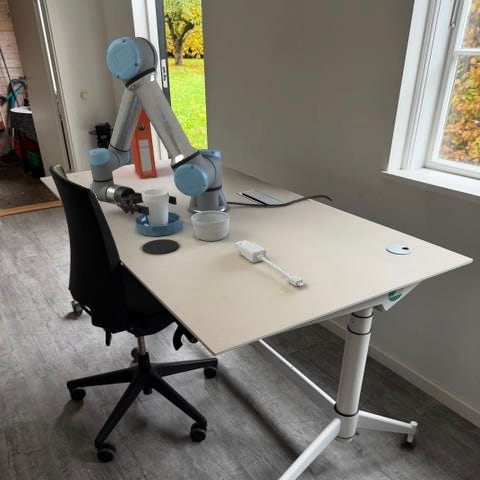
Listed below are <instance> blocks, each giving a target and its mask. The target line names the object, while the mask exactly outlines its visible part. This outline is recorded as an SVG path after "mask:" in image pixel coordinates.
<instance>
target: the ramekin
mask: <svg viewBox="0 0 480 480" xmlns="http://www.w3.org/2000/svg"><path fill="white" fill-rule="evenodd" d="M190 222H191V224H192V230H193V234H194V236H195V237H196V238H197V239H199V240H200V241H204V242H215V241H216V242H217V241H220V240H223V239H224V238H226V237H227V235H228V233H229V224H230V214H228V213H227V212H225V211H224V212H220V211H203V212H199V213H196V214H195V213H193V214H192V216H191V217H190Z"/></svg>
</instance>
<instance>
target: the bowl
mask: <svg viewBox="0 0 480 480" xmlns="http://www.w3.org/2000/svg"><path fill="white" fill-rule="evenodd" d="M134 223H135V229H136V231H137V233H138V234H141V235H143V236H151V237H158V236H159V237H160V236H168V235H171V234H174V233H176V232H178V231H180V230H181V229H182V217H181V215H180V214H179V213H176V212H175V211H168V225H162V226H150V224H149V221H148V217H147V215H144V214H140V215H138V216H137V217H136V218H135V220H134Z"/></svg>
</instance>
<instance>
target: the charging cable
mask: <svg viewBox="0 0 480 480" xmlns="http://www.w3.org/2000/svg"><path fill="white" fill-rule="evenodd" d="M234 248H235V249H236V250H237V251H240V255H242V256H243V257H244V258H246V259H247V260H249V261H250V262H252V263H253V264H254V263H258V262H265V263H266V264H267V265H269V266H270V267H272V268H273V269H274V270H276V271H278V272H279V273H280V274H281V275H284V276H285V277H287V278H288V281H289V283H290V284H292V285H293V286H294V287H304V286H306V283H305V282H304V279H302V278H301V277H299V276H298V275H293V274H292V275H291V274H290V273H288V272H287V271H285V270H283V269H282V268H280V267H279V266H278V265H276V264H275V263H274V262H271V260H268V259H267V250H266V249H265V248H263V247H262V246H260V245H259V244H257V243H255V242H254V241H252V242H250V241H249V240H247V239H244V240H241V241H237V242H234Z"/></svg>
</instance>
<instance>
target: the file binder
mask: <svg viewBox="0 0 480 480" xmlns="http://www.w3.org/2000/svg"><path fill="white" fill-rule="evenodd" d="M151 125H152V124H151V122H150V120H149V118H148V117H147V115H146V113H145V111H144V109H143V108H142V109H141V112H140V115H139V118H138V122H137V125H136V128H135V131H134V135H133V138H132V141H131V144H130V146H131V151H132V157H133V158H132V159H133V165H134V171H135V172H136V174H137V175H138V177H139V178H140V179H141V180H145V179H153V178H157V177H158V176H157V175H158V174H157V167H156V159H155V150H154V143H153V133H152V127H151Z"/></svg>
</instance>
